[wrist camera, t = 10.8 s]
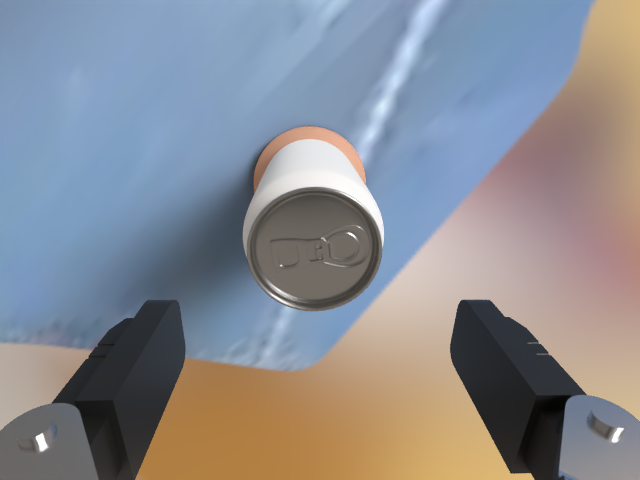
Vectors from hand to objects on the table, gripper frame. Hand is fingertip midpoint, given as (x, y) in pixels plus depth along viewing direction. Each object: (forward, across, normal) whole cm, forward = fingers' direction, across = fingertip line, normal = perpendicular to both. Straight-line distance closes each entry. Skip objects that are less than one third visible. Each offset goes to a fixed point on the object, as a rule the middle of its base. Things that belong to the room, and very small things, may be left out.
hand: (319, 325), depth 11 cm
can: (+17, 0, 0) cm, 17 cm away
